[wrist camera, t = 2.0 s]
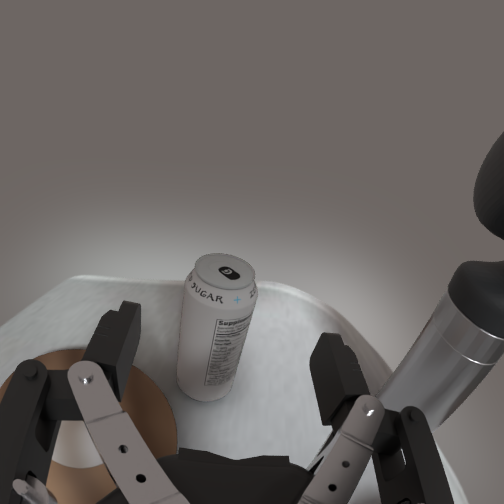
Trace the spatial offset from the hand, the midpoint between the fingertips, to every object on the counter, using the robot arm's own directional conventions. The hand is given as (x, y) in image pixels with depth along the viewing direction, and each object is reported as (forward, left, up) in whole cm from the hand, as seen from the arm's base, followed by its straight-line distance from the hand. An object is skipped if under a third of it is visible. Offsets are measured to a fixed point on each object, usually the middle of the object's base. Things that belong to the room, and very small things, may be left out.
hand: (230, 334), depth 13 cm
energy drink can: (-5, -10, -19) cm, 22 cm away
